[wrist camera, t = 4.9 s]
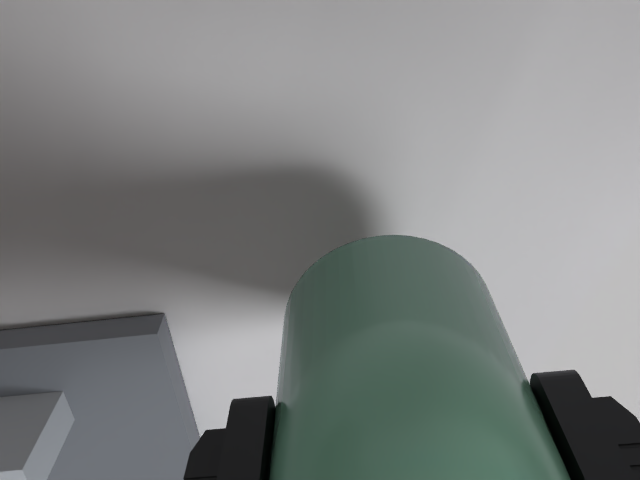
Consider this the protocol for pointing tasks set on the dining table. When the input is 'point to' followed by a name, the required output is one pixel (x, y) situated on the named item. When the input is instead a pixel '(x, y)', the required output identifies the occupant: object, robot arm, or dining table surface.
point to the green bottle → (403, 374)
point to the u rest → (94, 402)
